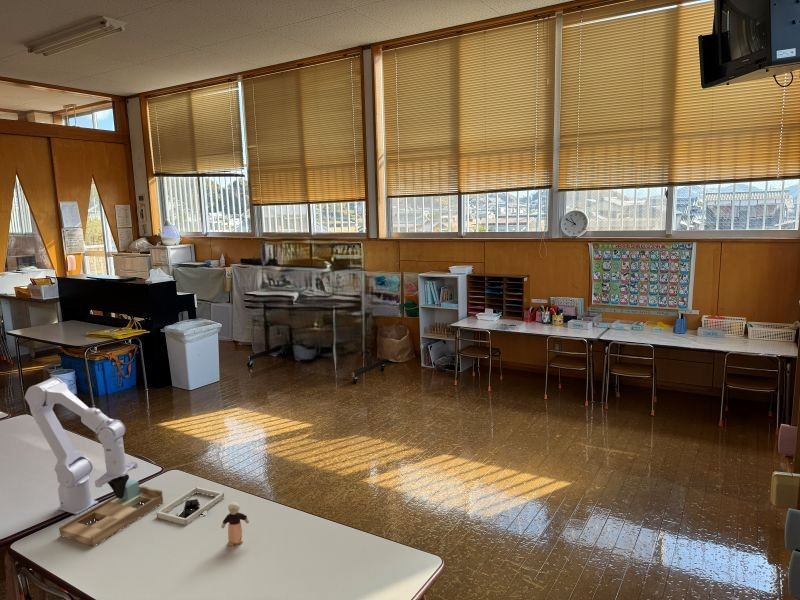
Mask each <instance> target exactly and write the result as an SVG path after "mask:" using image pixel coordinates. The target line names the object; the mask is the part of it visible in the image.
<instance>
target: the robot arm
mask: <svg viewBox="0 0 800 600" xmlns="http://www.w3.org/2000/svg"><path fill="white" fill-rule="evenodd" d="M24 399H25V401H26V402H27V404H28V405H29V410H30V414H31V415H32V418H33V419H34V420H35V423H36V424H37V426H38V427H39V429H40V431H41V434H42V435H43V436H44V438H45V440H46V442H47V444H48V445H49V447H50V449H51V451H52V453H53V454H54V456H55V458H56V463H55V465H54V472H55V474H56V478H57V479H56V480H57V482H58V483H59V485H58V489H57V492H58V493H57V494H58V500H59V506H58V507H57V510H60V511H63V512H67V513H71V514H74V515H80V514H81V513H82V512H84V511H86V510H87V509H91V507H93V506H94V505H96V504H99V501H98V500H94V499H93V498H92V492H91V485H90V476H91V474H90V473H92V471H93V467H94V465H93V462H92V461H91V460H90V459H89V458H88V456H86V455H85V454H84V452H82V451H80V450H79V451H78V450H76V449H75V447H74V445H73V444H72V442H71V440H70V438H69V436H68V434H67V433H66V432H65V430H64V428H63V426H62V424H61V422H60V420H59V419H58V418H57V416H56V413H55V411H54V410H53V409H54V406H55V404H56V405H57V404H60V405H62V406H63V407H65V408H66V409H68V410H70V411H71V412H72V413H74V414H77V416H79V417H80V420H81V423H82V424H83V425H85V426H86V427H88V428H89V429H90V430H92V431H93V432H94V433H96V435H97V439H98V440H99V442H100V443H101V446H102V448H103V454H104V461H105V462H104V463H105V469H106V472H105V473H104V474H103V475H101V476H100V477H99V478H97V479H96V480H95V481H94V486H95V487H96V488H102V487H103V486H104V485H105V484H107V485H108V486H109V487H110V489H112V491H113V493H114V496H116V498H119V499H121V498H123V496H124V490H125V486H126V483H127V481H128V479H130V475H129V474H128V472H130V471H132V470H134V469H135V470H136V469H137V468H139V466H138V461H131V462H129V463H126V462H127V461H126V455H125V448H124V447H125V446H124V445H125V444H124V439H123V436H124V435H125V433H126V430H127V429H126V426H125V424H124V423H123V422H122V421H121V420H120V419H114V418H110V417H109V416H107V415H106V414H104V412H102V411H101V409H100V408H97V407H89V406H88V405H87V404H85V403H84V402H83V401H82V400H81V399H79V398H78V397H77V395H75V394H74V393H72V391H70V390H69V389H68V384H67V383H65V382H64V381H63V380H61V379H60V378H58V377H55V376H54V377H50V378H48V379H46V380H44V381H42V382H40V383H37V384H34V385H32V386H29V387H28V389H27V390H26V393H25V394H24Z"/></svg>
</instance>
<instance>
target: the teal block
mask: <svg viewBox="0 0 800 600" xmlns="http://www.w3.org/2000/svg"><path fill="white" fill-rule="evenodd" d="M139 485H140V484H139V481H138V480H133V479H130V478H129V479H128V481H127V483H126V486H125V490H124V496H123V498H121V499H125V500H130V499H132V498H133V497H135V496H137V495H138V494H140V493H139Z"/></svg>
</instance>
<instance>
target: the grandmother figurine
mask: <svg viewBox="0 0 800 600" xmlns="http://www.w3.org/2000/svg"><path fill="white" fill-rule="evenodd" d="M240 508H241V506H240V504H239V503H238V502H236V501H232V502H230V503H229V504H228V506H227V510H228V511H229V513H228V514H227V515H226V516H225V518H224V519H223V520H222V524H221V526H220V527H221V529H225V528H226V525H227V524H228V527H227V531H228V532H227V535H228V536H227V537H228V538H227V539H228V541H227V543H226V547H231V546H233V545H241V544H243V543H244V541H243V529H242V528H243V527H242V521H244V522H245V524H249V523H250V520H249V519H248V515H247V514H244V513H242V512H239V510H240ZM241 520H242V521H241Z"/></svg>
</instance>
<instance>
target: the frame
mask: <svg viewBox="0 0 800 600" xmlns="http://www.w3.org/2000/svg"><path fill="white" fill-rule="evenodd" d="M195 492H199V493H204V494H208V495H213V496H217V497H213V498H212V499H211V500H210V501H208V502H207V503H205V505H203V506H201V507H200V509H198V510H197V511H196V512H194V513H193V514H191V515H190V516H188V517H187V518H182V517H178V516H177V515H173V514H170V513H168V512H170V511H171V510H172V509H171V508H173V507H174V506H176V505H177V504H179V503H180V502H182V501H183V500H184V499H186V498H187V497H189V496H191V495H192V494H193V493H195ZM199 493H198V494H199ZM195 494H196V493H195ZM204 494H203V495H204ZM208 495H207V496H208ZM192 496H193V495H192ZM192 496H191V497H192ZM223 497H224V498H225V494H224V493H223V492H219V491H215V490H212V489H207V488H202V487H198V486H195V487H193V488H192V489H190V490H188V491H187V492H185V493H184V494H183V495H181V496H180V497H178V498H176V499H175V500H173V501H172V502H170V503H169V504H166V505H165V506H163V507H162V508H160V509H159V510H158V511H156V512H155V513H156V518H157V517H158V518H157V519H161V520H165V521H170V522H173V523H176V524H179V525H184V526H187V525H188V524H190V523H191V522H193V521H195V520H196V519H197V518H199V517H198V516H199V515H200V514H202V513H203V512H204V511H206V510H207V509H208V510H210V509H211V508H212V507H214V506H215V505H216V504H215V503H216V502H218V501H219V500H221V499H222V498H223ZM189 498H190V497H189ZM186 500H187V499H186ZM222 500H223V499H222ZM222 500H221V501H222ZM183 502H184V501H183ZM183 502H182V503H183ZM219 502H220V501H219ZM219 502H218V503H219ZM180 504H181V503H180ZM180 504H179V505H180ZM214 504H215V505H214ZM213 505H214V506H213ZM177 506H178V505H177ZM177 506H176V507H177ZM211 506H212V507H211ZM210 507H211V508H210ZM174 508H175V507H174ZM174 508H173V509H174ZM209 508H210V509H209ZM170 509H171V510H170ZM169 510H170V511H169ZM167 511H168V512H167ZM195 518H196V519H195Z"/></svg>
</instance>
